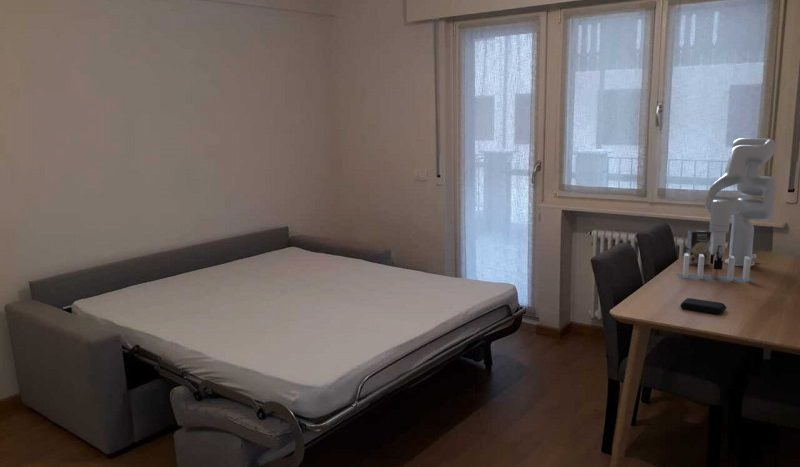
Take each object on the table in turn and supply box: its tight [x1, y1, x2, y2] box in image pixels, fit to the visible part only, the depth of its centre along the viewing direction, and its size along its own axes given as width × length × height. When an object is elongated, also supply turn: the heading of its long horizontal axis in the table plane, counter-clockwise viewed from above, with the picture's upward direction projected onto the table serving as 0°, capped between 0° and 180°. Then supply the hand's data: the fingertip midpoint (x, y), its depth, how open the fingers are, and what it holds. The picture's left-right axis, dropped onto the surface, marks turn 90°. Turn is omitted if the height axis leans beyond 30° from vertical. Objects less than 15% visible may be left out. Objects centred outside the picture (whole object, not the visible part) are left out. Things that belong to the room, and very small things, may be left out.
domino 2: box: [696, 254, 705, 279], centre depth 273 cm, size 2×5×10 cm, turn 162°
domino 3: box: [726, 255, 736, 281], centre depth 269 cm, size 2×5×10 cm, turn 162°
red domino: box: [711, 255, 720, 280], centre depth 271 cm, size 2×5×10 cm, turn 162°
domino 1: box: [682, 252, 690, 278], centre depth 275 cm, size 2×5×10 cm, turn 162°
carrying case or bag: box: [679, 297, 727, 316], centre depth 232 cm, size 11×3×15 cm
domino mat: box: [676, 273, 756, 284], centre depth 272 cm, size 30×8×1 cm, turn 72°
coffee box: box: [685, 229, 711, 266], centre depth 299 cm, size 9×6×16 cm
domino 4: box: [741, 256, 751, 282], centre depth 267 cm, size 2×5×10 cm, turn 162°
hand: (715, 266), depth 271 cm, fingers open, 9 cm apart
